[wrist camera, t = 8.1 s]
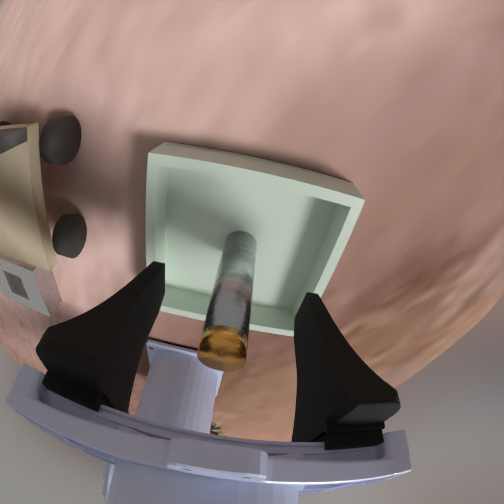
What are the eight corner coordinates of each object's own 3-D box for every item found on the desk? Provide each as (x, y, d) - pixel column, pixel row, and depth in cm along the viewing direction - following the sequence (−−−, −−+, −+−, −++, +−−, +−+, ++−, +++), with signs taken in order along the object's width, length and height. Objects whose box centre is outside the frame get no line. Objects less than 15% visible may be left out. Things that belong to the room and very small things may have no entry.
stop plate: (61, 300, 23) (50, 317, 21) (15, 281, 22) (3, 295, 20) (47, 254, 19) (32, 271, 17) (0, 238, 19) (-14, 252, 17)
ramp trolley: (88, 243, 18) (40, 305, 13) (19, 225, 18) (-28, 271, 12) (82, 112, 13) (0, 143, 7) (6, 118, 12) (-60, 149, 6)
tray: (297, 312, 21) (299, 337, 19) (159, 284, 20) (148, 307, 18) (352, 182, 15) (365, 200, 13) (165, 141, 14) (148, 152, 12)
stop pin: (250, 261, 18) (237, 375, 11) (221, 251, 18) (192, 363, 11) (261, 237, 17) (253, 353, 10) (230, 226, 16) (202, 339, 10)
